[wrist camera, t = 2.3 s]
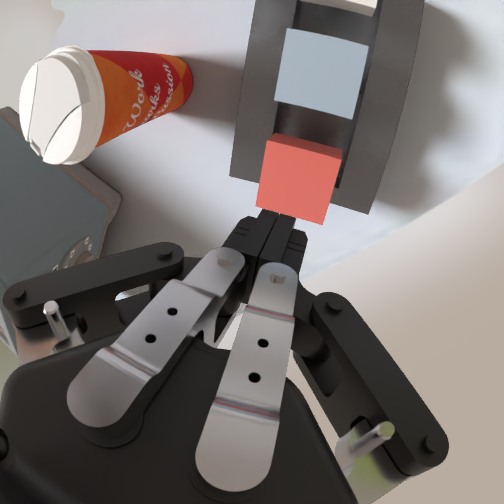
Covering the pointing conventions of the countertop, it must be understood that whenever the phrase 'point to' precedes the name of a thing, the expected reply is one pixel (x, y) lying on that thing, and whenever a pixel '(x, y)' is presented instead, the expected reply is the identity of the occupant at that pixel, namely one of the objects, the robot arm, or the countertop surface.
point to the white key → (350, 5)
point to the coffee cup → (96, 98)
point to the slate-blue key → (321, 72)
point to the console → (318, 122)
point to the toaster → (45, 214)
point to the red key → (298, 177)
